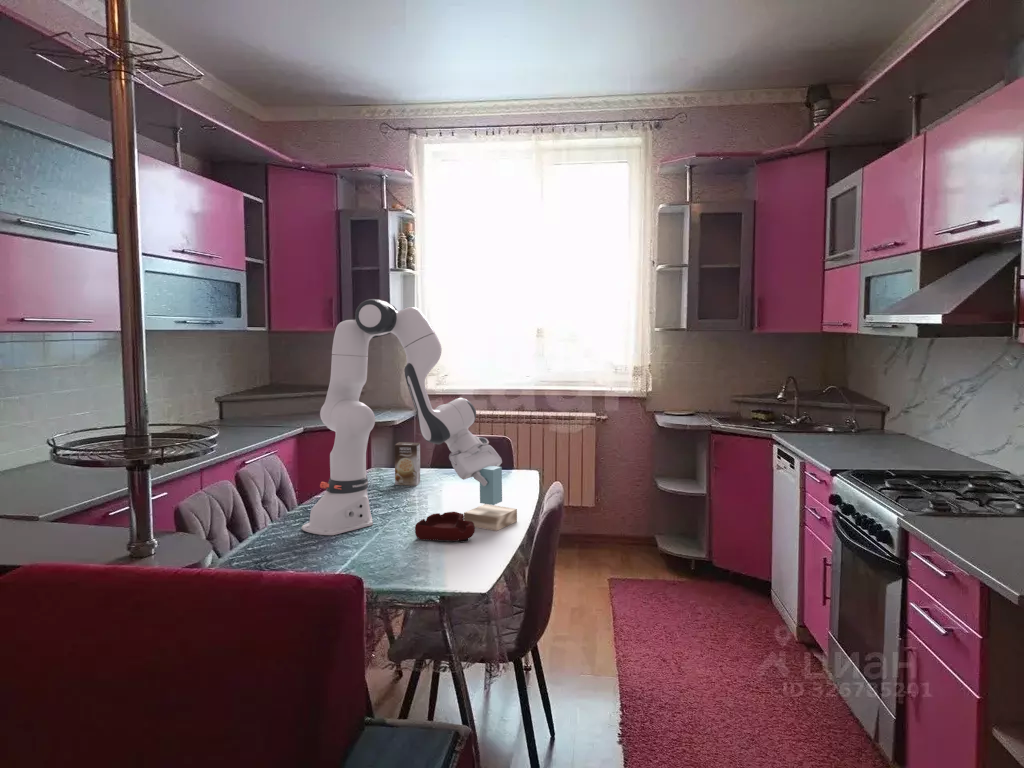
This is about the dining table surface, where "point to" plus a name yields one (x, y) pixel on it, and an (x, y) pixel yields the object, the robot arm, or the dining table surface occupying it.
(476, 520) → the plinth
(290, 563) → the dining table surface
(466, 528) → the ashtray
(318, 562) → the dining table surface
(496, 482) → the teal block
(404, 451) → the coffee box
